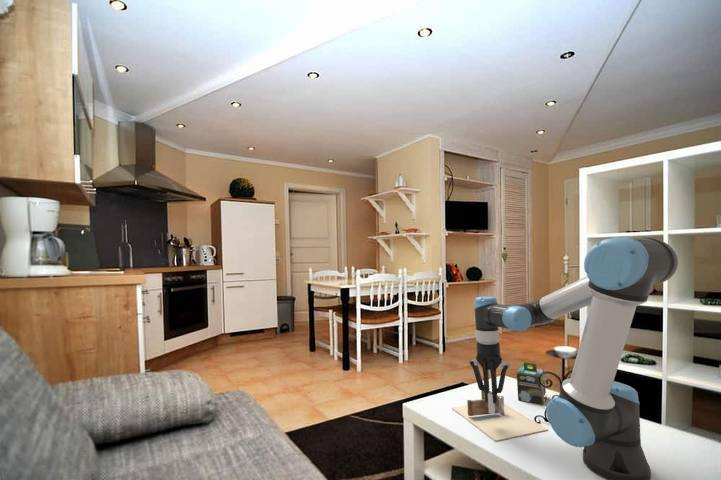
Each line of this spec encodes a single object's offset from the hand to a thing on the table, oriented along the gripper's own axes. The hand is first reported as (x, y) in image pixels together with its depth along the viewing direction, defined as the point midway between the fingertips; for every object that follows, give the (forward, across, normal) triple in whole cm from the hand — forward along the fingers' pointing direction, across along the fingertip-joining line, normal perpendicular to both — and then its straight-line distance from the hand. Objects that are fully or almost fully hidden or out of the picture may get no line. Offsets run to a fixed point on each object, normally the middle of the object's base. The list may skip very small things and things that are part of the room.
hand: (491, 412), depth 119 cm
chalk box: (+5, -8, -33) cm, 34 cm away
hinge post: (+5, -1, -12) cm, 13 cm away
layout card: (+5, 0, -8) cm, 10 cm away
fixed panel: (+5, +4, -16) cm, 17 cm away
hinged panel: (+4, +5, -7) cm, 9 cm away
